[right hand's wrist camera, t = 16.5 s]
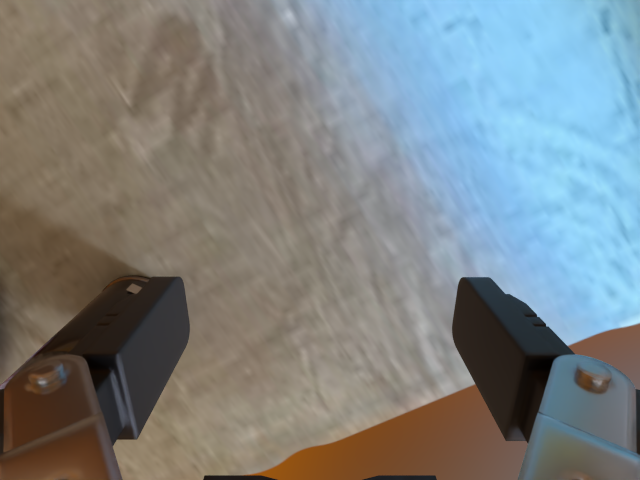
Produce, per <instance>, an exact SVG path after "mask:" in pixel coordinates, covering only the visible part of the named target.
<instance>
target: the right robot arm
mask: <svg viewBox="0 0 640 480" xmlns="http://www.w3.org/2000/svg"><path fill="white" fill-rule="evenodd" d="M189 332H190V324H189V317H188V310H187V303H186V296H185V289H184V283H183V280H182V278H181V277H152V278H151V279H148V278H145V277H140V276H126V277H121V278H119V279H116V280H114V281H113V282H111V283H110V284H109V285H108V286H107V287H106V288H105V289H104V290H103V291H102V293H100V294H99V295H98V296H97V297H96V298H95V299H94V300H93V301H91V302H90V303H89V304H88V305H87V306H86V307H85V308H84V309H83V310H82V311H81V312H79V313H78V314H77V315H76V316H75V317H74V318H73V319H72V320H71V321H70V322H69V323H67V324H66V325H65V326H64V327H63V328H62V329H61V330H60V331H59V332H58V333H57V334H55V335H54V336H53V337H52V338H51V339H50V340H49V341H48V342H47V343H46V344H45V345H43V346H42V347H41V348H40V349H39V350H38V351H37V352H36V353H35V354H34V355H33V356H31V357H30V358H29V359H28V360H27V361H26V362H25V363H24V364H23V365H22V366H21V367H20V368H19V369H18V370H16V371H15V372H14V373H13V374H12V375H11V376H10V377H9V378H8V379H7V380H6V381H4V382H3V383H2V384H1V385H0V480H122V477H121V473H120V470H119V467H118V463H117V460H116V456H115V453H114V450H113V445H114V443H115V442H116V440H117V439H137V438H138V437H139V435H140V433H141V431H142V429H143V427H144V425H145V423H146V421H147V419H148V418H149V416H150V414H151V412H152V410H153V408H154V406H155V404H156V402H157V400H158V399H159V397H160V395H161V393H162V391H163V389H164V387H165V385H166V383H167V382H168V380H169V378H170V376H171V374H172V372H173V370H174V368H175V366H176V364H177V363H178V361H179V359H180V357H181V355H182V353H183V351H184V349H185V347H186V345H187V343H188V339H189ZM452 333H453V340H454V343H455V346H456V348H457V350H458V352H459V354H460V355H461V357H462V359H463V361H464V363H465V365H466V367H467V369H468V370H469V372H470V374H471V376H472V378H473V380H474V382H475V384H476V385H477V387H478V389H479V391H480V393H481V395H482V397H483V399H484V401H485V402H486V404H487V406H488V408H489V410H490V412H491V413H492V416H493V417H494V419H495V421H496V423H497V425H498V427H499V429H500V430H501V432H502V434H503V436H504V438H505V440H506V441H527V443H528V446H527V450H526V453H525V456H524V460H523V463H522V467H521V470H520V473H519V477H518V480H640V390H637V389H635V387H634V385H633V383H632V382H631V380H630V379H629V378H628V377H627V376H626V375H625V374H623V373H622V372H621V371H619V370H618V369H616V368H614V367H613V366H611V365H609V364H607V363H605V362H602V361H600V360H597V359H594V358H591V357H587V356H582V355H575V354H574V353H573V351H572V350H571V349H570V348H569V347H568V346H567V345H566V344H565V343H564V342H563V341H562V340H561V339H560V338H559V337H558V336H557V335H556V334H555V333H554V332H553V331H552V330H551V329H550V328H549V327H546V324H545V323H544V322H543V321H542V320H541V319H540V318H539V317H537V314H536V313H535V312H534V311H533V310H532V309H531V308H530V307H529V306H528V305H527V304H526V303H524V302H522V301H520V300H519V299H517V298H515V297H513V296H512V295H510V294H505V293H504V292H503V291H502V290H501V289H500V288H499V287H498V286H497V284H496V283H495V282H494V281H493V280H492V279H491V278H489V277H463V278H461V279H460V281H459V284H458V290H457V297H456V304H455V310H454V317H453V325H452ZM203 480H276V479H272V478H269V477H265V476H204V479H203ZM364 480H437V479H436V476H375V477H371V478H368V479H364Z"/></svg>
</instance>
